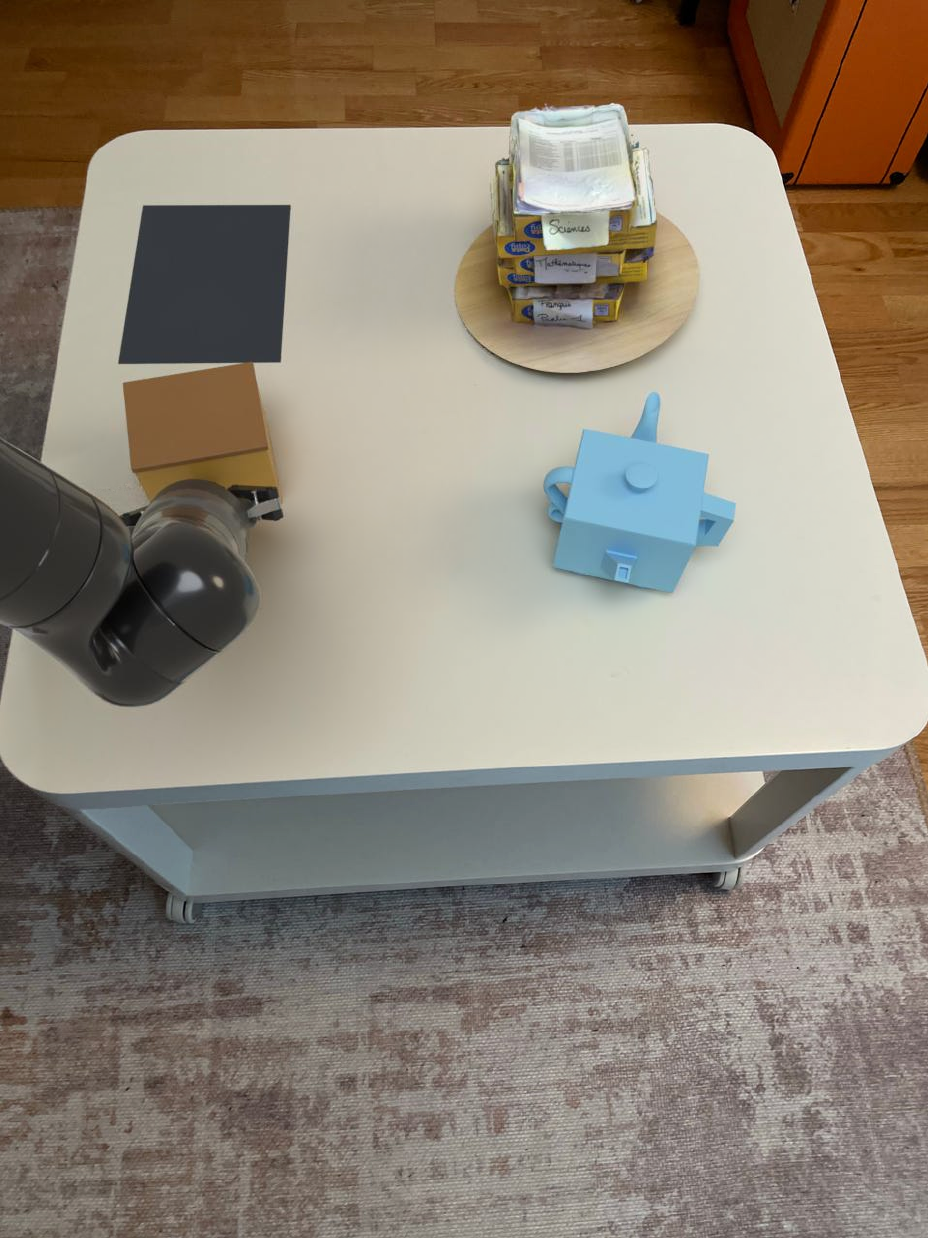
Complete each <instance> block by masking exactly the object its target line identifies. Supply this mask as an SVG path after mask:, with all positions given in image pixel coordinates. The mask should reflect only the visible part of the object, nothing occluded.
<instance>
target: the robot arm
mask: <svg viewBox="0 0 928 1238" xmlns="http://www.w3.org/2000/svg"><path fill="white" fill-rule="evenodd" d="M227 489H228V490H227ZM227 489H225V487H224V486H220V485H218V484H217V483H214V482H211V481H207V480H202V479H187V480H181V481H178V482H175V483H172V484H170V485H168V486H167V487H165V488H164V489H162V490H161V491H160V492H159V493H158V494H157V495H156V496H155V497H154V498H153V500H152V501H151V503H150V502H149V504H148V505H145V506H142V507H139V508H137V509H134V510H132V511H127V512H124V513H122V514H121V515H119V514H118V513H117V512H116V511H115V510H114V509H113V508H111V507H110V506H109V505H108V504H107V503H105V502H104V501H103V500H101V499H99V498H98V497H96V496H95V495H94V494H92V493H90V492H89V491H87V490H86V489H84V488H82V487H80V486H79V485H78V484H76V483H75V482H73V481H72V480H71V479H68V478H67V477H65V476H63V475H62V474H60V473H58V471H55V470H54V469H52V468H51V467H49V466H47V465H46V464H44V463H43V462H41V461H40V460H38V459H37V458H34V457H33V456H31V455H30V454H28V453H27V452H25V451H23V450H21V449H20V448H19V447H17V446H15V445H14V444H13V443H11V442H9V441H8V440H6V439H5V438H2V437H1V436H0V625H2V626H4V627H7V628H9V629H13V630H15V631H17V632H18V633H20V634H21V635H23V636H24V637H25V638H27V639H28V640H30V641H31V642H33V643H34V644H35V645H36V646H38V647H39V648H41V649H42V650H43V651H45V653H47V654H48V655H50V656H51V657H52V658H54V659H55V660H56V661H57V662H58V663H60V664H61V665H62V666H64V668H66V670H67V671H68V672H70V673H71V674H72V675H73V676H74V677H75V679H77V680H78V681H79V682H80V683H81V684H82V685H83V686H84V687H85V688H86V689H87V690H88V691H90V692H91V693H92V694H93V695H95V696H96V697H97V698H98V699H100V700H101V701H103V702H104V703H107V704H108V705H112V706H115V707H120V708H141V707H142V708H143V707H147V706H150V705H151V706H152V705H154V704H156V703H158V702H160V701H162V700H164V699H166V698H167V697H169V696H170V695H172V694H173V693H174V692H175V691H176V690H178V689H179V688H180V687H181V686H183V685H184V684H185V683H186V682H187V681H188V680H190V678H192V677H193V676H195V675H196V674H197V673H198V672H200V670H202V669H203V668H205V667H206V666H207V665H208V664H210V663H211V662H212V661H213V660H215V658H217V657H218V656H219V655H221V654H222V653H223V652H224V651H225V650H227V649H228V648H229V647H231V646H232V645H233V644H234V643H236V642H237V641H238V640H239V639H240V638H241V637H243V636H244V634H245V633H247V631H248V630H249V629H250V628H251V626H253V624H254V622H255V621H256V619H257V617H258V616H259V613H260V611H261V608H262V593H261V589H260V587H259V583H258V581H257V579H256V576H255V575H254V573H253V571H252V569H251V568H250V566H249V565H248V564H247V562H246V561H245V560H246V557H247V556H248V554H249V537H250V529H251V528H254V526H256V524H257V522H262V521H273V522H277V521H280V520H281V519H283V518H284V517H285V516H284V511H283V508H282V503H280V498H279V494H278V489H277V487H272V486H269V487H268V486H248V485H237V484H236V485H232V486H231V487H229V488H227Z"/></svg>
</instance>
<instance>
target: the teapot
mask: <svg viewBox="0 0 928 1238" xmlns="http://www.w3.org/2000/svg"><path fill="white" fill-rule="evenodd" d="M661 403H662V402H661V396H660V394H659V393H658V392H656V391H652V392H650V394H648V396H647V398H646V400H645V403H644V406H643V409H642V414H641V417H640V419H639V421H638V423H637V426H636V427H635V429H634V431H633V433H632V434H631V436H630V437H629V436H624V435H619V434H614V433H609V432H604V431H598V430H593V429H588V428H582V432H581V437H580V441H579V446H578V450H577V454H576V458H575V459H576V460H575V463H574V466H558V467H555V468H553V469H551V470H550V471H548V472H547V473H546V475H545V477H544V480H543V490H544V493H545V495H546V497H547V498H548V499H549V501H550V503H549V504H548V506H547V515H548V517H549V518H550V519H551V520H553V521H554V522H556V523H560V524H561V526H560V531H559V536H558V540H557V544H556V549H555V554H554V558H553V563H552V568H556V569H559V570H563V571H569V572H573V573H575V574H578V575H582V576H585V575H587V576H591V577H595V578H601V579H605V580H610V581H615V582H619V583H625V584H628V585H633V586H636V587H638V588H641V589H646V588H648V589H652V590H657V591H662V592H667V593H671V594H673V593H674V591H675V589H676V587H677V585H678V583H679V581H680V579H681V577H682V575H683V573H684V571H685V569H686V567H687V565H688V563H689V561H690V559H691V557H692V555H693V553H694V551H695V549H696V547H719V546H720V544H721V542H722V541H723V539H724V537H726V534H727V532H728V531H729V529H730V528H731V527H732V524H733V523H734V521H735V514H736V506H737V502H734V501H731V500H728V499H725V498H722V497H718V496H715V495H712V494H710V493H706V492H704V491H705V486H706V478H707V472H708V466H709V465H708V464H709V457H710V454H708V453H705V452H702V451H696V450H692V449H687V448H682V447H677V446H672V445H669V444H663V443H658V442H657V441H658V440H657V438H658V437H657V435H658V434H657V433H658V423H659V416H660V410H661ZM557 484H569V490H568V495H567V496H566V495H565V493H563V491H562V490H561V489H560V488H559V487H558V485H557Z"/></svg>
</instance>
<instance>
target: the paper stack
mask: <svg viewBox="0 0 928 1238" xmlns="http://www.w3.org/2000/svg"><path fill="white" fill-rule="evenodd" d="M627 112H628V113H630V112H631V111H630V108H628V111H627ZM510 117H511V118H510V130H509V137H508V138H509V141H508V143H509V145H508V158H504V157H502V158H501V159H499V160H497V161H496V162H495V163H494V169H495V171H494V172H495V173H494V174H495V177H494V178H493V179H492V180H491V181H490V185H489V186H490V188H489V190H490V191H489V192H490V203H491V216H492V218H491V219H492V224H491V225H490V226H488V227H487V228H486V229H485V230H483V231H482V232H481V233H480V234H479V235H478V236H477V237H476V238H475V239H474V240H473V242H472V243H471V245H470V246H469V247H468V248H467V250H466V251H465V254H464V255H463V257H462V259H461V261H460V263H459V265H458V269H457V272H456V276H455V281H454V297H455V304H456V308H457V311H458V314H459V316H460V318H461V320H462V323H463V324H464V326H465V327H466V329H467V330H468V332H469V333H470V334H471V335H472V336H473V337H474V338H475V340H476V341H478V343H480V344H481V345H482V346H483V347H484V348H486V349H487V350H488V351H489V352H491V353H493V354H494V355H496V356H498V357H499V358H502V359H504V360H505V361H508V362H510V363H512V364H515V365H518V366H521V367H524V368H528V369H532V370H536V371H541V372H548V373H549V372H550V373H560V374H561V373H566V374H568V373H569V374H570V373H571V374H572V373H573V374H574V373H575V374H576V373H577V374H578V373H586V372H594V371H600V370H605V369H609V368H614V367H616V366H620V365H623V364H625V363H629V362H631V361H634V360H636V359H637V358H640V357H643V356H644V355H645V354H647V353H649V352H651V351H652V350H654V349H655V348H657V347H659V346H660V345H662V344H663V343H664V342H666V340H668V339H669V338H671V336H672V335H674V333H675V332H677V330H678V329H679V328H680V327H681V326H682V325H683V323H684V322H685V320H686V319H687V318H688V316H689V314H690V312H691V311H692V309H693V307H694V305H695V302H696V300H697V296H698V293H699V288H700V279H701V278H700V277H701V276H700V265H699V261H698V258H697V255H696V252H695V249H694V248H693V246H692V244H691V243H690V241H689V240H688V238H687V236H686V235H685V234H684V232H683V231H681V229H680V228H678V226H677V225H675V224H674V223H673V221H671V220H669V219H668V218H667V217H665V216H664V215H662V214H661V213H659V212H658V211H657V208H656V199H655V190H654V180H653V178H652V173H651V165H650V155H649V154H650V153H649V152H650V151H649V149H648V148H647V147H644V148H642V147H640V142H639V141H640V140H637V142H636V143H635V140H633V141H632V140H631V139H632V138H631V137H633V136H634V135H633V133H631V131H630V126H629V122H628V116H627V113H626V110H625V107H624V106H623V105H621V104H620V103H614V102H612V103H609V104H602V105H599V106H595V105H594V104H593V105H588V104H585V105H578V106H575V105H572V106H565V105H564V106H560V107H558V106H557V107H555V105H550V106H548V104H547V103H546V102H545V103H544V106H543V107H541V109H539V108H537V106H535V107H534V108H532V109H530V110H529V109H528V110H524V111H523V110H522V111H521V110H520V111H518V110H517V111H516V112H515V113H513V114H512V115H511V116H510ZM632 143H633V144H632Z"/></svg>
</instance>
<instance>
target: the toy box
mask: <svg viewBox="0 0 928 1238" xmlns="http://www.w3.org/2000/svg"><path fill="white" fill-rule="evenodd" d="M122 389H123V400H124V401H123V402H124V409H125V410H124V411H125V419H126V430H127V439H128V440H127V441H128V450H129V459H130V469H131V472H132V473H133V474H135V476H136V478H137V480H138V482H139V484H140V486H141V488H142V490H143V492H144V494H145V496H146V498H147V500H148V502H149V504H150V503H151V501H152V500H153V498H154V497H155V496H156V495H157V494H158V493H159V492H160V491H161V490H162V489H164V488H165V487H167V486H168V485H170V484H172V483H175V482H178V481H181V480H187V479H202V480H207V481H211V482H214V483H217V484H218V485H220V486H224V487H225V489H227V488H229V487H231V486H232V485H236V484H237V485H248V486H268V487H269V486H272V487H277V489H278V494H279V498H280V503H281V504H283V501H282V494H281V489H280V483H279V482H280V481H279V478H278V471H277V467H276V462H275V455H274V450H273V444H272V438H271V432H270V428H269V422H268V419H267V415H266V411H265V407H264V403H263V400H262V396H261V392H260V387H259V384H258V381H257V376H256V371H255V363H253V362H248V363H234V364H230V365H224V366H223V365H222V366H217V367H211V368H205V369H199V370H192V371H187V372H181V373H174V374H168V375H161V376H156V377H149V378H143V379H142V378H141V379H136V380H132V381H125V382H122ZM227 490H228V489H227Z"/></svg>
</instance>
